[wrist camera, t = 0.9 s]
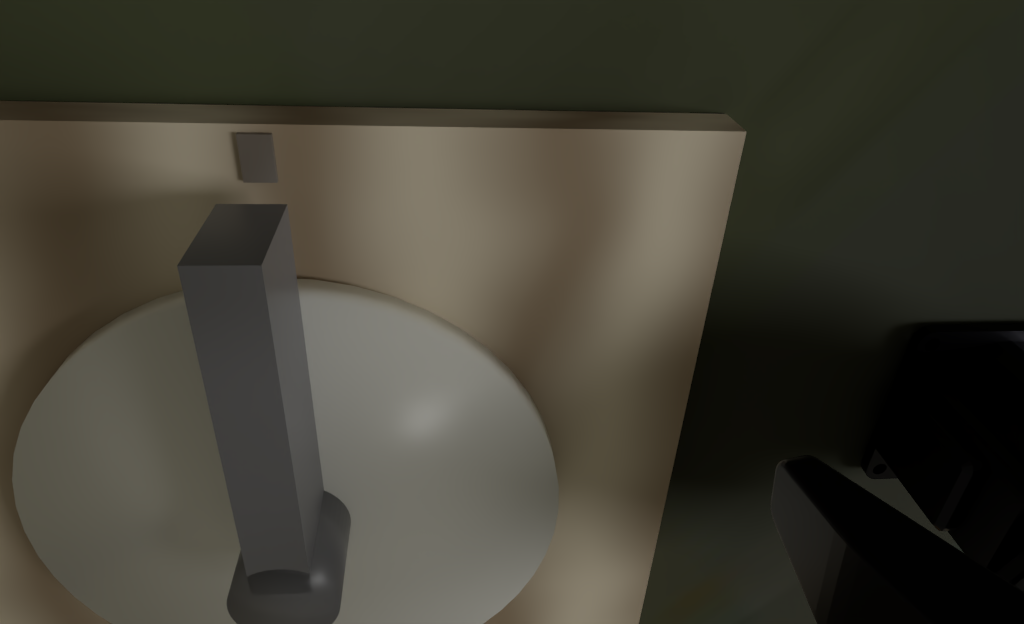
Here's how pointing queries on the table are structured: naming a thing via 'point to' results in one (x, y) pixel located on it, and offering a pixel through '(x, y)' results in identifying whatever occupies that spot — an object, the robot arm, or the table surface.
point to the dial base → (399, 278)
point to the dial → (284, 453)
